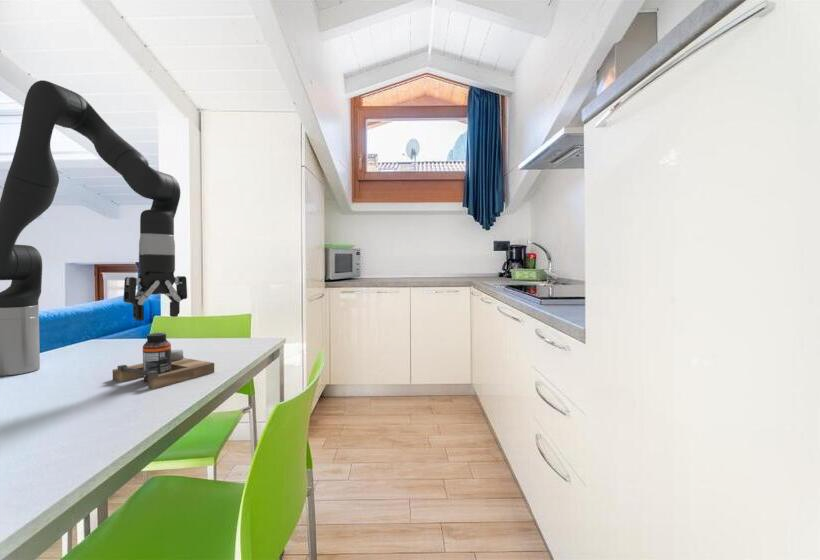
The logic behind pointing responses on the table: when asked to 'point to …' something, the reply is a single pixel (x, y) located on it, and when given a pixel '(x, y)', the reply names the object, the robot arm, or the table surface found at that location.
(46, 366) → the table surface
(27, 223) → the robot arm
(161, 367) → the supplement bottle
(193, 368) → the notched board
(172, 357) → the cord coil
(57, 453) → the table surface
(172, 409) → the table surface
